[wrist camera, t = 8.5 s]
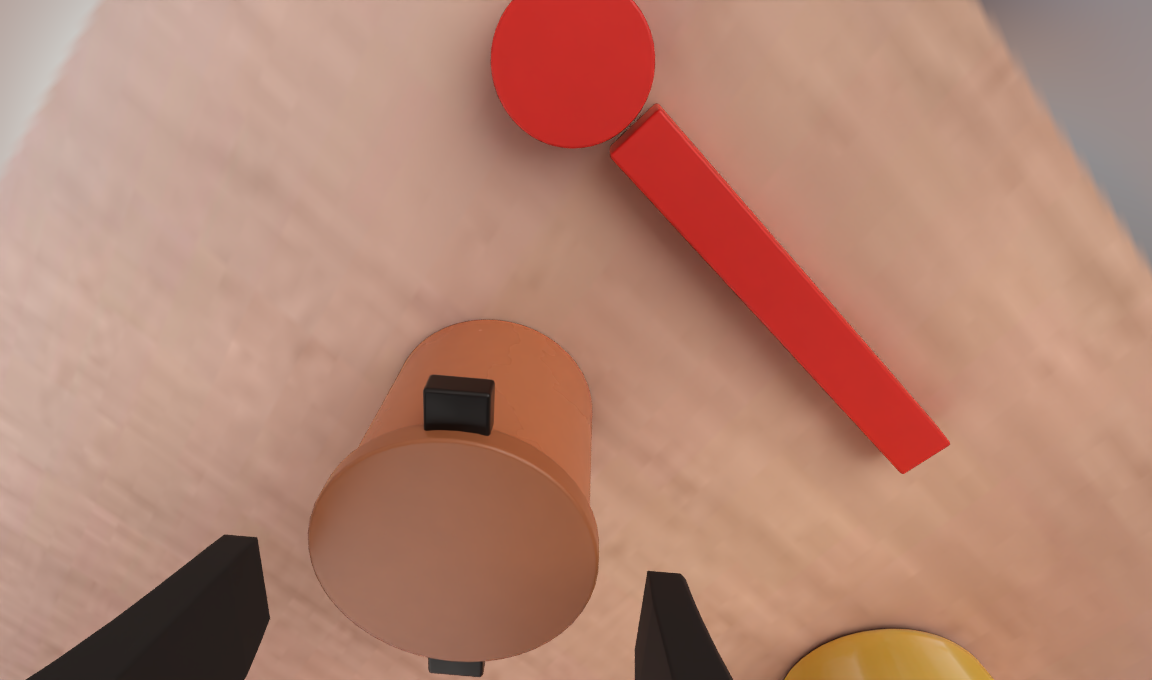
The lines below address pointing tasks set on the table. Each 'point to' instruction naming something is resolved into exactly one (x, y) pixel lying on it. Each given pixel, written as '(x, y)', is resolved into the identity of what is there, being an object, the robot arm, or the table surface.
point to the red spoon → (690, 196)
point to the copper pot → (466, 502)
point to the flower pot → (889, 658)
